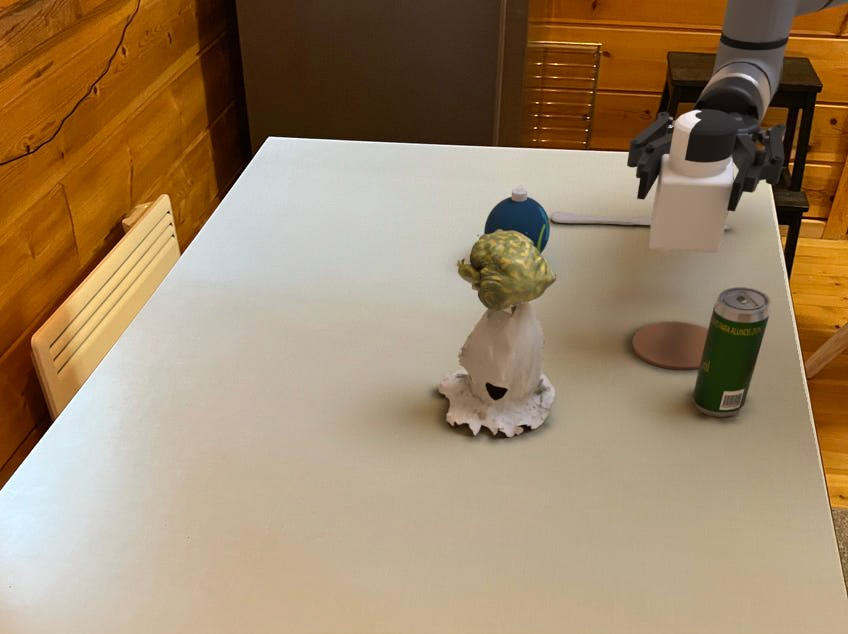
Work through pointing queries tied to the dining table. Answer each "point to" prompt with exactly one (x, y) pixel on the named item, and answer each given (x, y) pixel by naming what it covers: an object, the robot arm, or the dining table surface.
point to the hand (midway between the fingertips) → (687, 191)
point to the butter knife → (599, 219)
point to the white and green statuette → (502, 338)
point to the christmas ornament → (520, 218)
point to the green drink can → (731, 351)
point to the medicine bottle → (695, 183)
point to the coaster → (671, 345)
